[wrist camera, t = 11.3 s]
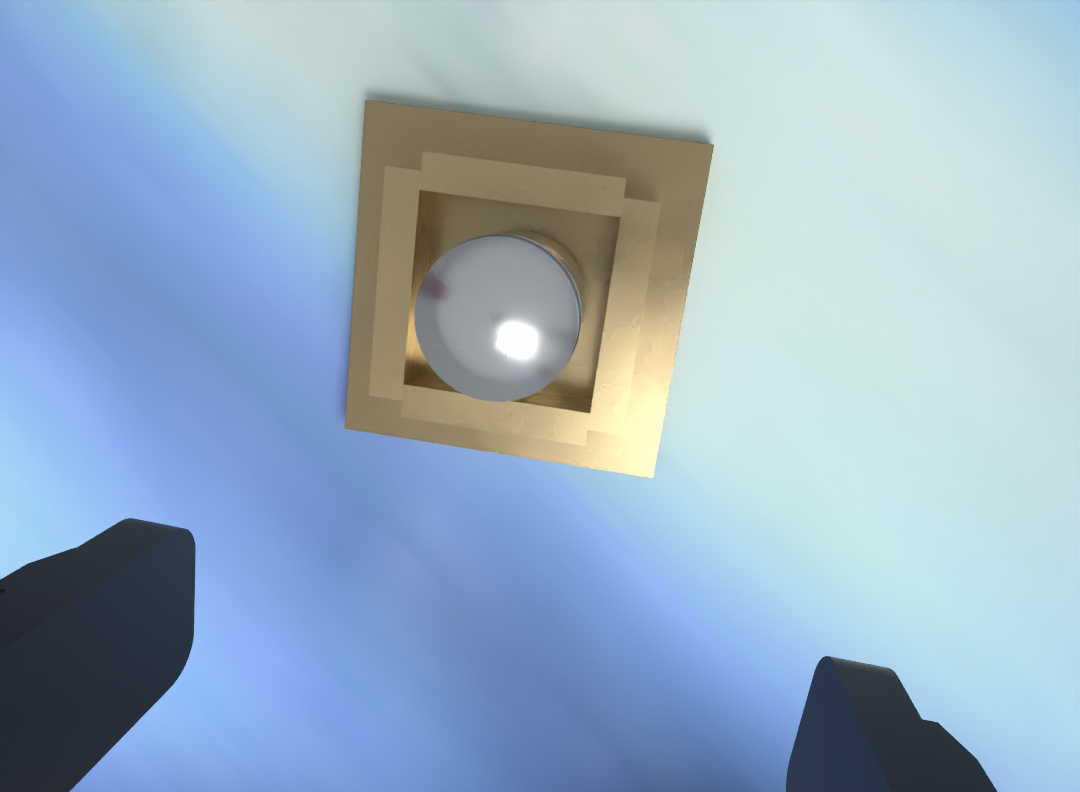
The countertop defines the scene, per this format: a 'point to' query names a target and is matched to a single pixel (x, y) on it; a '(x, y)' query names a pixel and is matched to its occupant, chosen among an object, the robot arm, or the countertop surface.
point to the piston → (501, 314)
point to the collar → (555, 212)
